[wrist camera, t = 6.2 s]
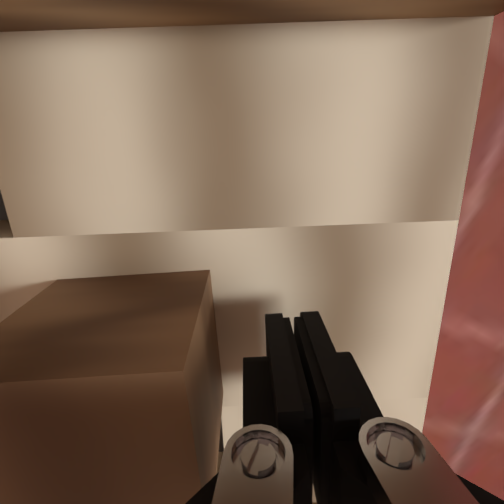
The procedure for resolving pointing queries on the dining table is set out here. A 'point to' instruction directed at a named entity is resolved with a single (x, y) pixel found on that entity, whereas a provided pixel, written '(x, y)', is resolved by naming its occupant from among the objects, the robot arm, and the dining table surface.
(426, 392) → the box
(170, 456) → the walnut block
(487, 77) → the dining table surface
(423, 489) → the robot arm
